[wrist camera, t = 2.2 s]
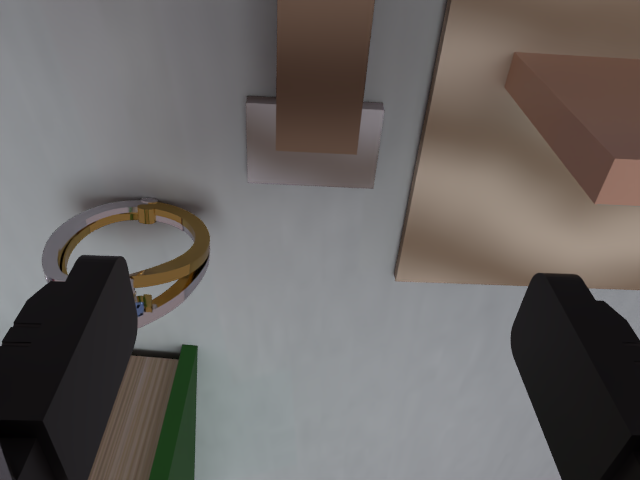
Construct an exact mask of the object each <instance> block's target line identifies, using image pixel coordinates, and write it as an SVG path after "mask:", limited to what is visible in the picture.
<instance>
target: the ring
mask: <svg viewBox="0 0 640 480" xmlns="http://www.w3.org/2000/svg"><path fill="white" fill-rule="evenodd" d="M126 220H138V221H139V222H140V223H143V224H153V223H155V222H156V221H158V222H163V223H167V224H170V225H172V226H175V227H177V228H179V229H181V230H182V231H184V232H185V233H186V234H188V235H189V236H190V238H191V239H192V240H193V242H194V244H193V246H192V247H191V248H190V249H189V250H188V251H187V252H186V253H184V254H183V255H181V256H179V257H177V258H175V259H173V260H171V261H169V262H166V263H164V264H161V265H158V266H155V267H152V268H149V269H146V270H143V271H139V272H136V273H132V274H129V276H130V281H131V286H132V291H133V295H134V300H135V305H136V310H137V317H138V328H140V327H142V326H145V325H147V324H149V323H151V322H153V321H155V320H157V319H158V318H160V317H162V316H164V315H166V314H167V313H169V312H170V311H172V310H173V309H175V308H176V307H177V306H179V305H180V304H181V303H182V302H183V301H184V300H185V299H186V298H187V297H188V296H189V295H190V294H191V293H192V292H193V291H194V290H195V288H196V287H197V286H198V284H199V283H200V281H201V280H202V278H203V277H204V275H205V273H206V271H207V268H208V265H209V258H210V236H209V232H208V229H207V227H206V226H205V224H204V223H203V222H202V221H201V220H200V219H199V218H198V217H197V216H195V215H194V214H192V213H190V212H188V211H186V210H184V209H182V208H179V207H176V206H173V205H169V204H165V203H160V202H158V200H157V199H154V198H141V200H129V201H119V202H112V203H108V204H103V205H100V206H97V207H94V208H91V209H88V210H86V211H84V212H81V213H79V214H77V215H76V216H74V217H72V218H70V219H69V220H67V221H66V222H64V223H63V224H62V225H61V226H59V227H58V228H57V229H56V230H55V231H54V232H53V233H52V235H51V236H50V237H49V239H48V240H47V242H46V244H45V247H44V250H43V254H42V267H43V271H44V275H45V278H46V281H47V283H49V282H50V281H64V282H65V281H66V279H67V277H68V274H67V263H68V259H69V257H70V254H71V253H72V251H73V249H74V248H75V247H76V245H77V244H78V243H79V242H80V241H81V240H82V239H83V238H84V237H85V236H87V235H88V234H90V233H91V232H93V231H94V230H96V229H98V228H100V227H103V226H105V225H108V224H111V223H115V222H119V221H126ZM177 279H179V280H178V281H177V282H176V283H175V284H174V285H172V286H171V287H170V288H169V289H168V290H166V291H165V292H164V293H162V294H161V295H159V296H158V297H156V298H155V299H153V300H152V295H147V294H144V295H143V296H136V291H135V288H140V287H148V286H154V285H159V284H164V283H167V282H171V281H174V280H177ZM138 328H137V329H138Z"/></svg>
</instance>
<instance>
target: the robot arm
mask: <svg viewBox="0 0 640 480" xmlns="http://www.w3.org/2000/svg"><path fill="white" fill-rule="evenodd" d="M137 328H138V317H137V310H136V305H135V300H134V295H133V291H132V286H131V281H130V276H129V271H128V267H127V263H126V260H125V259H124V257H122V256H95V255H82V256H80V257H79V258H78V259H77V261H76V262H75V264H74V266H73V268H72V270H71V272H70V273H69V275H68V277H67V279H66V281H65V282H64V281H50V282H49V283H48V284H46V285H45V286H44V287H43V288H41V289H40V290H39V291H38V292H37V293H35V294H34V295H33V296H32V297H30V298H29V299H28V300H27V301H26V303H25V305H24V306H23V308H22V310H21V311H20V313H19V314H18V316H17V318H16V319H15V321H14V326H13V327H11V328H10V329H9V331H8V332H7V334H6V336H5V337H4V339H3V341H2V346H0V480H88V478H89V475H90V472H91V469H92V466H93V463H94V461H95V458H96V455H97V452H98V449H99V446H100V443H101V440H102V437H103V435H104V432H105V429H106V426H107V423H108V420H109V417H110V414H111V411H112V409H113V406H114V403H115V400H116V397H117V394H118V391H119V388H120V385H121V382H122V380H123V377H124V374H125V371H126V368H127V365H128V362H129V359H130V356H131V354H132V351H133V348H134V345H135V341H136V336H137ZM511 349H512V354H513V357H514V360H515V362H516V365H517V367H518V370H519V372H520V375H521V377H522V380H523V383H524V385H525V388H526V390H527V393H528V395H529V398H530V400H531V403H532V405H533V408H534V410H535V413H536V415H537V418H538V421H539V423H540V426H541V428H542V431H543V433H544V436H545V438H546V441H547V443H548V446H549V448H550V451H551V453H552V456H553V458H554V461H555V464H556V466H557V469H558V471H559V474H560V476H561V479H562V480H640V340H639V338H638V337H637V335H636V334H635V332H634V331H633V329H632V328H631V326H630V325H629V323H628V322H627V320H626V319H624V318H623V317H622V316H621V315H620V314H618V313H617V312H616V311H615V310H614V309H613V308H611V307H610V306H609V305H608V304H607V303H606V302H604V301H596V300H595V299H594V297H593V295H592V294H591V292H590V290H589V289H588V287H587V286H586V284H585V282H584V281H583V279H582V278H581V277H580V276H579V275H577V274H561V273H537V274H535V275H534V276H533V277H532V279H531V281H530V283H529V286H528V288H527V291H526V293H525V296H524V298H523V301H522V303H521V306H520V308H519V311H518V313H517V316H516V318H515V321H514V323H513V326H512V330H511Z"/></svg>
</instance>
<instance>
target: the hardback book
mask: <svg viewBox="0 0 640 480" xmlns="http://www.w3.org/2000/svg"><path fill="white" fill-rule="evenodd" d="M197 348H198V346H193V345H182V349H181V353H180V357H179V360H177V359H166V358H155V357H143V356H132V355H131V356H130V359H129V362H128V365H127V368H126V371H125V374H124V377H123V380H122V382H121V385H120V388H119V391H118V394H117V397H116V400H115V403H114V406H113V409H112V411H111V414H110V417H109V420H108V423H107V426H106V429H105V432H104V435H103V437H102V440H101V443H100V446H99V449H98V452H97V455H96V458H95V461H94V463H93V466H92V469H91V472H90V475H89V478H88V480H194V468H195V428H196V388H197Z"/></svg>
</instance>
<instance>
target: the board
mask: <svg viewBox="0 0 640 480" xmlns="http://www.w3.org/2000/svg"><path fill="white" fill-rule="evenodd" d="M514 52H523V53H540V54H557V55H574V56H592V57H609V58H626V59H640V0H448V1H447V6H446V11H445V16H444V21H443V26H442V31H441V37H440V42H439V47H438V52H437V57H436V62H435V67H434V72H433V78H432V83H431V88H430V93H429V98H428V103H427V108H426V114H425V119H424V124H423V129H422V134H421V139H420V144H419V149H418V155H417V160H416V165H415V170H414V175H413V180H412V185H411V191H410V196H409V201H408V206H407V211H406V216H405V221H404V226H403V232H402V237H401V242H400V247H399V252H398V257H397V262H396V268H395V273H394V276H395V281H402V282H430V283H457V284H485V285H513V286H529V283H530V281H531V279H532V277H533V276H534V275H535V274H537V273H561V274H577V275H579V276H580V277H581V278H582V279H583V281H584V282H585V284H586V286H587V287H588V288H596V289H624V290H640V207H639V206H616V205H597V204H594V203H593V202H592V200H591V199H590V198H589V197H588V195H587V194H586V193H585V191H584V190H583V189H582V187H581V186H580V185H579V184H578V182H577V181H576V180H575V178H574V177H573V176H572V174H571V173H570V172H569V171H568V169H567V168H566V167H565V165H564V164H563V163H562V162H561V160H560V159H559V158H558V156H557V155H556V154H555V152H554V151H553V150H552V149H551V147H550V146H549V145H548V143H547V142H546V141H545V140H544V138H543V137H542V136H541V134H540V133H539V132H538V130H537V129H536V128H535V127H534V125H533V124H532V123H531V121H530V120H529V119H528V117H527V116H526V115H525V114H524V112H523V111H522V110H521V108H520V107H519V106H518V105H517V103H516V102H515V101H514V99H513V98H512V97H511V95H510V94H509V93H508V92H507V90H506V89H505V88H504V87H505V83H506V80H507V76H508V72H509V69H510V65H511V62H512V58H513V55H514Z"/></svg>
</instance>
